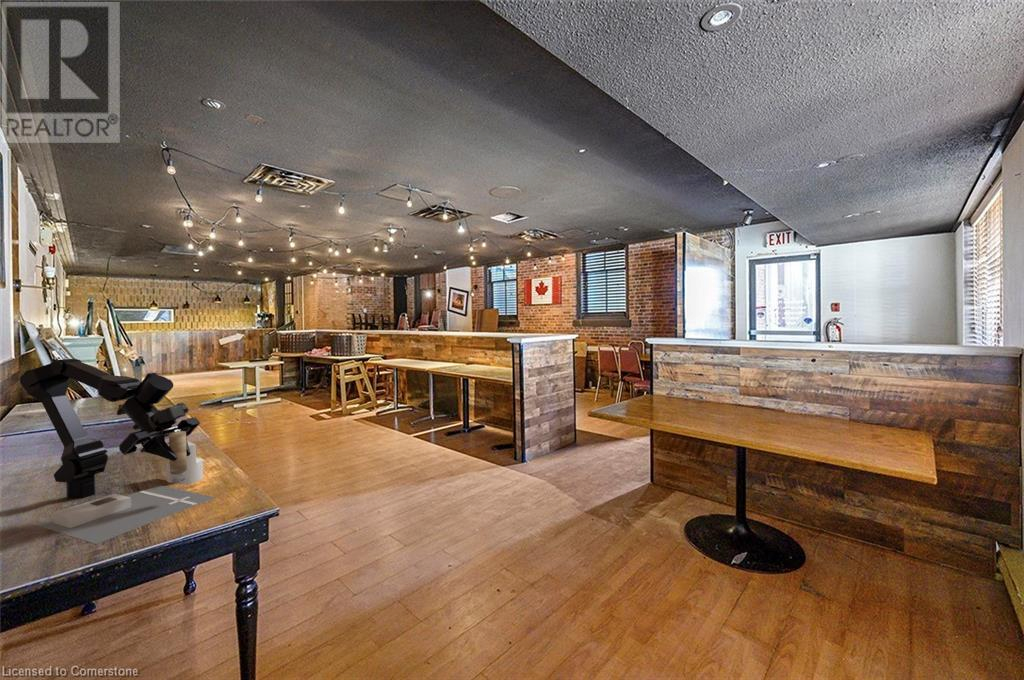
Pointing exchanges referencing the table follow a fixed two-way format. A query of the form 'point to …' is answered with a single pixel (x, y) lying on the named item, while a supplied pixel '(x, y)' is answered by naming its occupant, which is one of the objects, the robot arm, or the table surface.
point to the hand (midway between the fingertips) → (182, 457)
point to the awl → (178, 456)
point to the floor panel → (133, 514)
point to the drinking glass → (189, 467)
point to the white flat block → (91, 510)
